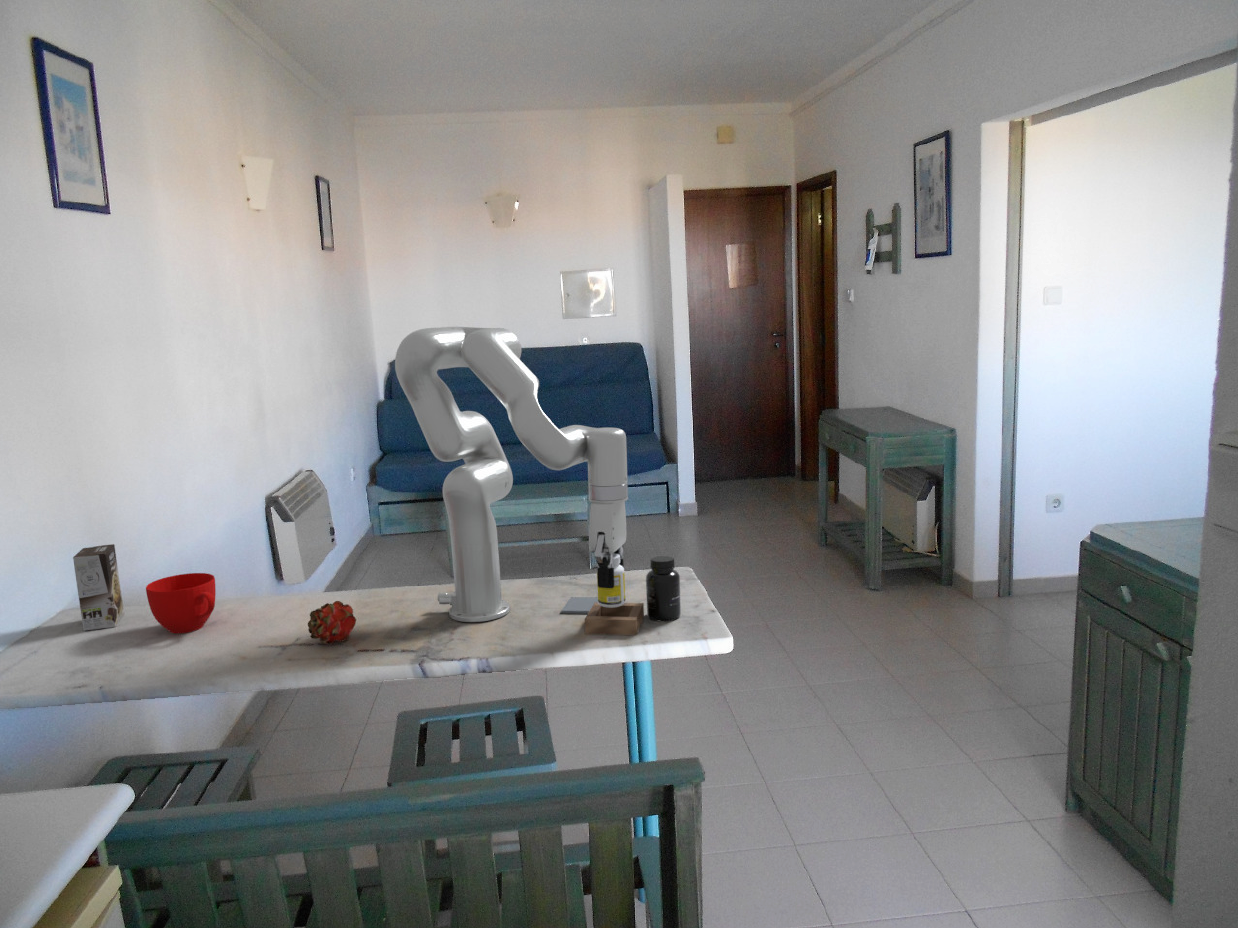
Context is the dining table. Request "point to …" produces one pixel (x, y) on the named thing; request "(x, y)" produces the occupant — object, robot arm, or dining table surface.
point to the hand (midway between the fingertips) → (611, 581)
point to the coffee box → (98, 587)
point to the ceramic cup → (182, 601)
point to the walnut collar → (614, 619)
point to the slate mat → (579, 605)
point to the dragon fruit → (331, 622)
